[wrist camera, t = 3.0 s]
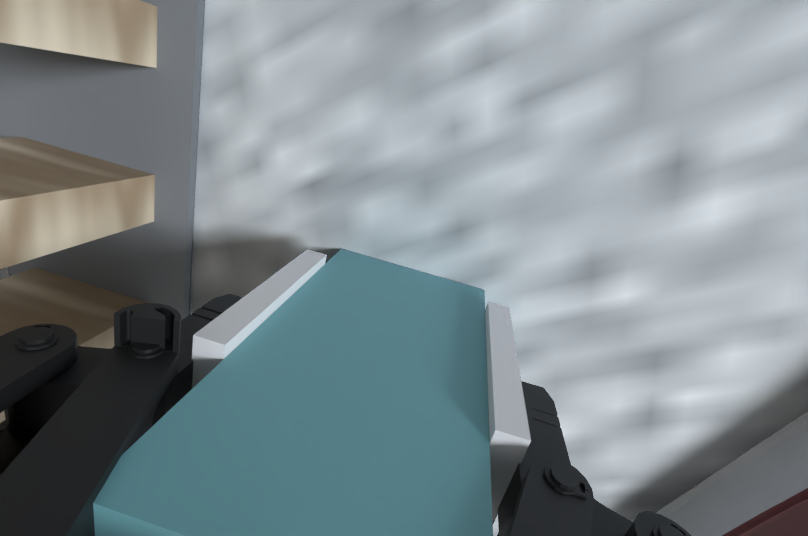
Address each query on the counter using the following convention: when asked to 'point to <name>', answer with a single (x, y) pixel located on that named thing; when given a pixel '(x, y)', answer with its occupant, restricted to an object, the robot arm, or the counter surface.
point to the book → (752, 491)
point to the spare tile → (326, 420)
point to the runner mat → (121, 147)
